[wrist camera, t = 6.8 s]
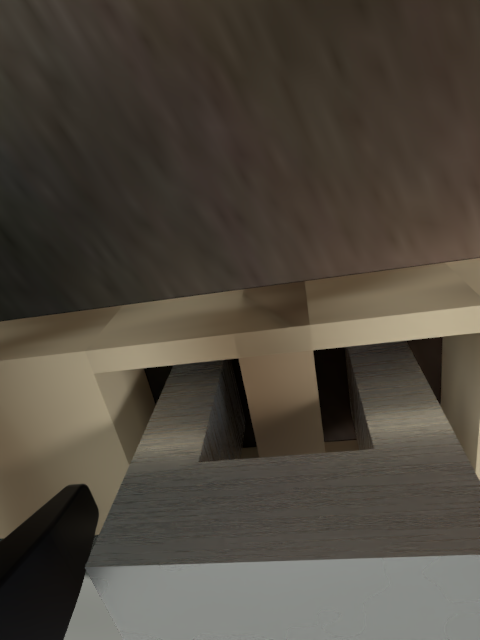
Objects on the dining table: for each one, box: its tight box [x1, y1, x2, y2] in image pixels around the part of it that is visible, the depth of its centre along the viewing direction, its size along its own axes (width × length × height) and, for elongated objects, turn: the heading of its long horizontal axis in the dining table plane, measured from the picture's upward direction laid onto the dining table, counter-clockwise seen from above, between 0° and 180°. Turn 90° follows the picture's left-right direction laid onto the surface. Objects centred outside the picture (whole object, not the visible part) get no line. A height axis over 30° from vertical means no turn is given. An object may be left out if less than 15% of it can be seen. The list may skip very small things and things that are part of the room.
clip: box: [85, 341, 480, 640], centre depth 9 cm, size 6×3×6 cm, turn 101°
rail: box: [0, 258, 480, 538], centre depth 11 cm, size 20×6×2 cm, turn 100°
